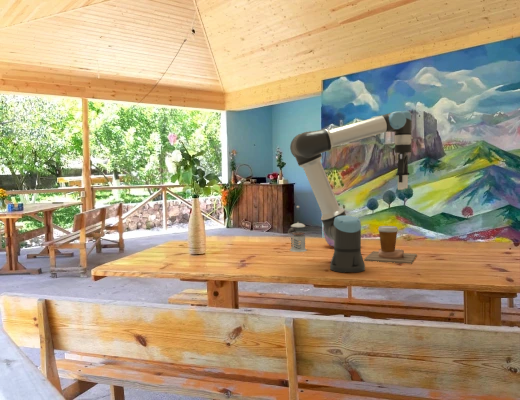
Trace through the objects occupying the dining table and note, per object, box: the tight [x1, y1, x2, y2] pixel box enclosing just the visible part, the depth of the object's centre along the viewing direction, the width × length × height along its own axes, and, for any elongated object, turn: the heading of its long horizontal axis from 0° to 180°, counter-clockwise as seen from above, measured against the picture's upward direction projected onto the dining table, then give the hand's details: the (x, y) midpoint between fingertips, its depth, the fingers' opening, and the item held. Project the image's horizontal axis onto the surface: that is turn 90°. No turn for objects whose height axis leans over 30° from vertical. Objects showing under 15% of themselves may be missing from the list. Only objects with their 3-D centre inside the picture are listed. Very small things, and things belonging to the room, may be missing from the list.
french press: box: [287, 205, 308, 253], centre depth 249 cm, size 10×12×25 cm
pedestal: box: [363, 248, 418, 265], centre depth 223 cm, size 22×22×4 cm
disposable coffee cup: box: [377, 225, 399, 252], centre depth 220 cm, size 10×10×12 cm
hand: (402, 189), depth 214 cm, fingers open, 13 cm apart
